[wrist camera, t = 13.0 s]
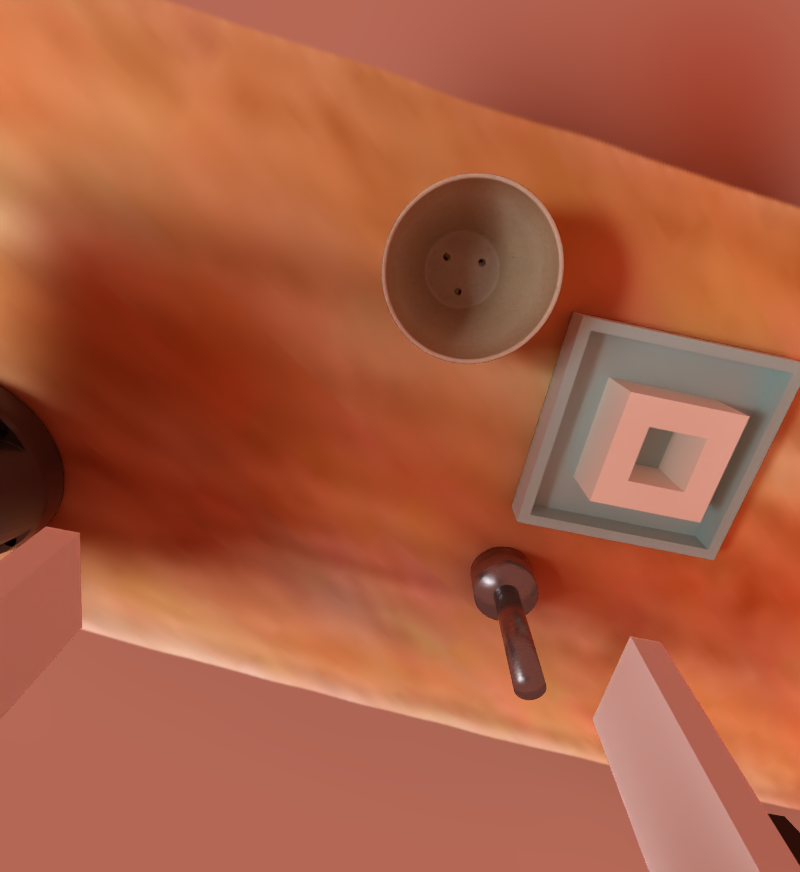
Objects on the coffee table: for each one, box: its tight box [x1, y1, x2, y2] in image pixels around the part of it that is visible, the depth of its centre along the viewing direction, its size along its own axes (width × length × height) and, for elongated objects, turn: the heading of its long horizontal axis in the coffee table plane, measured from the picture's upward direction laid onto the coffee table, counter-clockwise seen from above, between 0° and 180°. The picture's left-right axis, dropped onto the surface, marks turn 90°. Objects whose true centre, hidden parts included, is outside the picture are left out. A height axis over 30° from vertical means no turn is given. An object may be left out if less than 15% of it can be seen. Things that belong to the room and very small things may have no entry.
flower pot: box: [382, 173, 564, 364], centre depth 31 cm, size 10×10×7 cm
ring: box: [574, 377, 750, 523], centre depth 36 cm, size 8×8×4 cm
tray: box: [511, 312, 800, 560], centre depth 37 cm, size 16×16×2 cm
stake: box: [471, 547, 546, 700], centre depth 37 cm, size 5×5×12 cm
